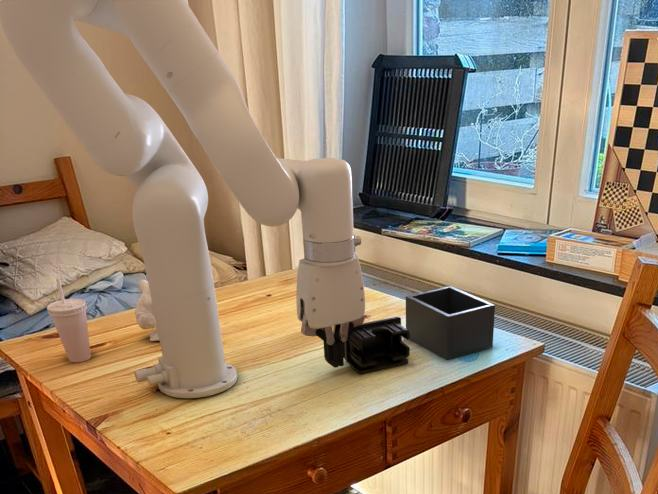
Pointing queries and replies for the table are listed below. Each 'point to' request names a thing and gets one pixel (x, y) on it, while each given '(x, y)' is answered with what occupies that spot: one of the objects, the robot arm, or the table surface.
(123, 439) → the table surface
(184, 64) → the robot arm
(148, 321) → the koala figurine
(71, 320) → the smoothie
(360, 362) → the end cap
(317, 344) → the table surface
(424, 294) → the box
